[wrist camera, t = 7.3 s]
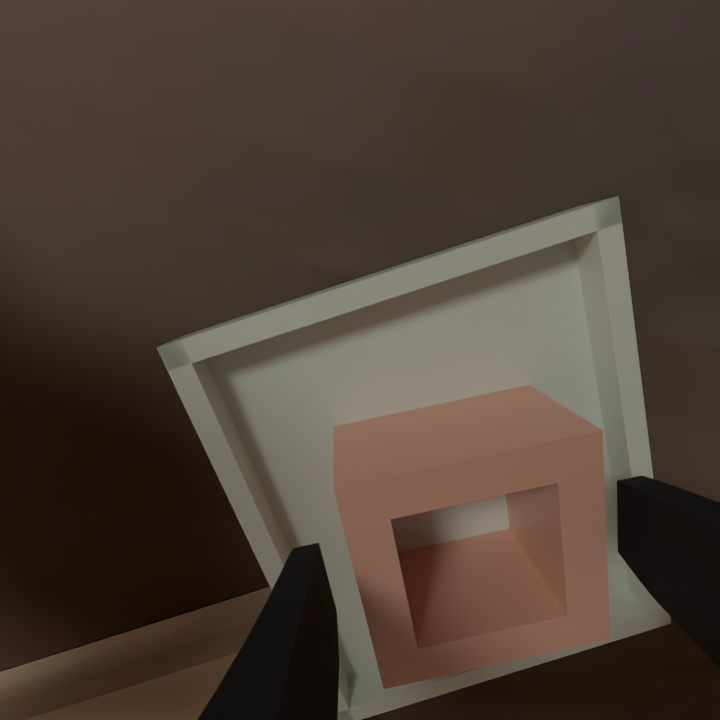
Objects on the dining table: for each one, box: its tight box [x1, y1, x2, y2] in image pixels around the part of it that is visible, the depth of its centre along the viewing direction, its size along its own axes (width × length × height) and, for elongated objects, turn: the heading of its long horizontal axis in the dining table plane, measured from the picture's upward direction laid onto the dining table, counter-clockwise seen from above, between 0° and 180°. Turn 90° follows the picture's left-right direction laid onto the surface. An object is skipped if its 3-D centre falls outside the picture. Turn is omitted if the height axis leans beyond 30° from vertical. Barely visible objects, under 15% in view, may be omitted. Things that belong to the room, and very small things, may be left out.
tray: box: [157, 196, 671, 720], centre depth 11 cm, size 13×11×2 cm
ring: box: [333, 385, 610, 689], centre depth 10 cm, size 6×6×3 cm
